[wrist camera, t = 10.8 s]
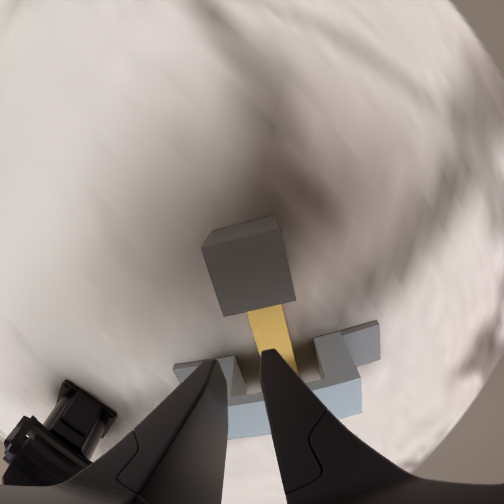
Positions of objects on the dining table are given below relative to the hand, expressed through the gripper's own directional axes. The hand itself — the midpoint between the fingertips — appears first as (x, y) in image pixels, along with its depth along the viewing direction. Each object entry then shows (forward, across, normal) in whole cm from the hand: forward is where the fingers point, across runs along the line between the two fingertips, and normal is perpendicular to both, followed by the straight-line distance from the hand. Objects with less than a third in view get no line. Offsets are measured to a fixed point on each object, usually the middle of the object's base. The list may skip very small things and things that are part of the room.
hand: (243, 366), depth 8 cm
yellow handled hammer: (+11, 0, +9) cm, 14 cm away
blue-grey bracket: (+11, 0, +10) cm, 15 cm away
